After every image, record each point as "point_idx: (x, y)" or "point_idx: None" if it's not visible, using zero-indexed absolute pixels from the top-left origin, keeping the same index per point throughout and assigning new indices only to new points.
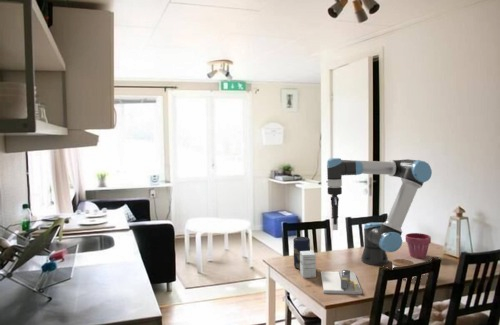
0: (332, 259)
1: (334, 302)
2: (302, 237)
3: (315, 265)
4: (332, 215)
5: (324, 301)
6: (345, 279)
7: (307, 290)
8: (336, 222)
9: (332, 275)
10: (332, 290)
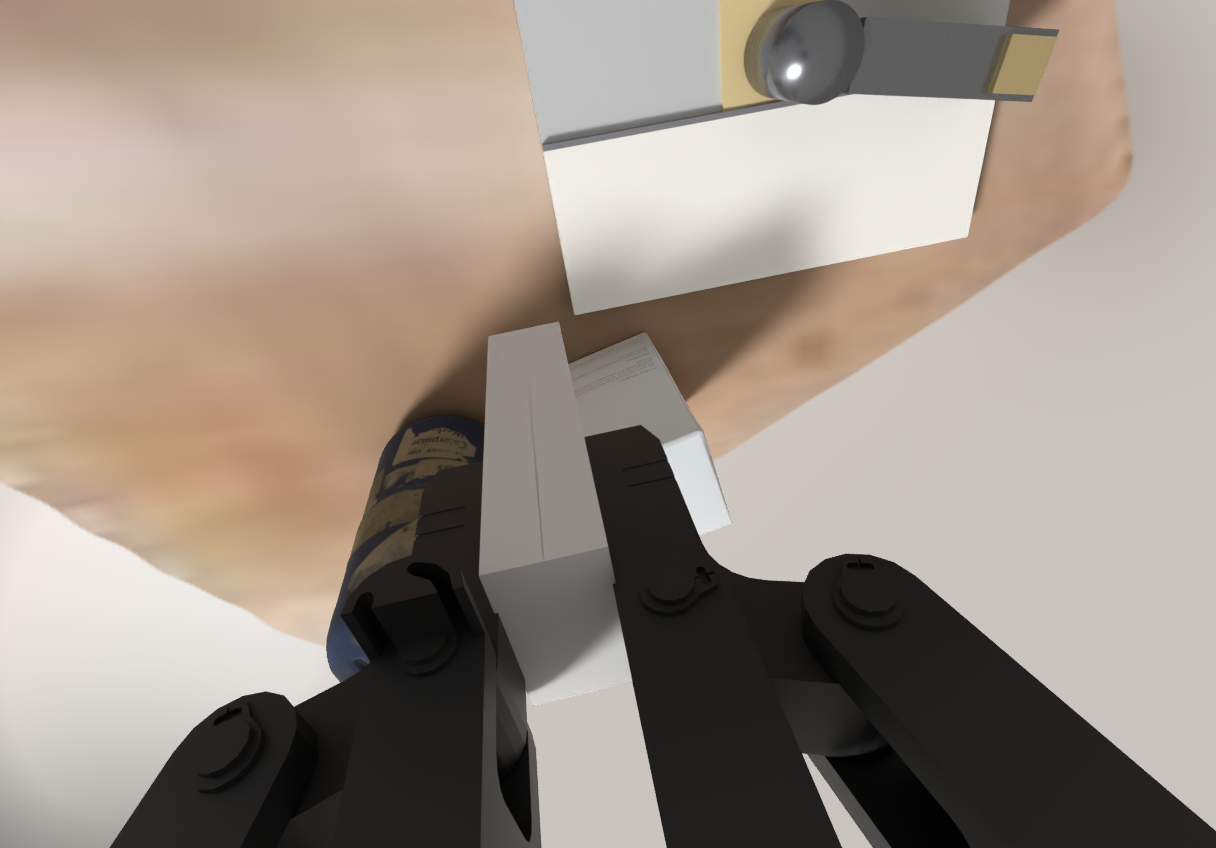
0: (71, 253)
1: (1115, 135)
2: (362, 668)
3: (671, 377)
4: (515, 799)
5: (1081, 208)
6: (1048, 50)
7: (893, 342)
8: (667, 467)
9: (659, 201)
10: (978, 168)
